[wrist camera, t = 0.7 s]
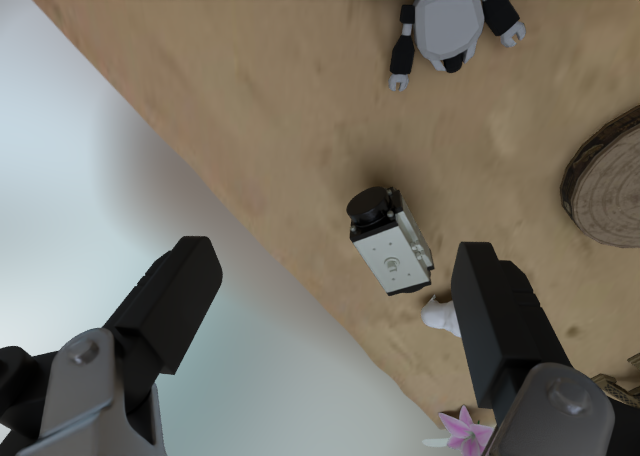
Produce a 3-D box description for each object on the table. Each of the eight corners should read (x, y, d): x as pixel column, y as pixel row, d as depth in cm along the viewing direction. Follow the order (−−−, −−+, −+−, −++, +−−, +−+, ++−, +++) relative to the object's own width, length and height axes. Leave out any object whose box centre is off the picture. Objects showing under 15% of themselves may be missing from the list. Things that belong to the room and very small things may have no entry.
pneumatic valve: (390, 241, 43) (394, 312, 33) (349, 173, 37) (340, 235, 28) (430, 227, 40) (446, 299, 31) (392, 152, 35) (399, 212, 26)
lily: (496, 398, 65) (487, 436, 58) (513, 444, 66) (506, 487, 59) (440, 389, 73) (426, 422, 66) (456, 430, 74) (444, 467, 67)
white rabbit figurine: (523, 359, 40) (426, 359, 45) (508, 306, 46) (425, 311, 51) (520, 330, 37) (416, 333, 42) (504, 277, 43) (416, 285, 48)
